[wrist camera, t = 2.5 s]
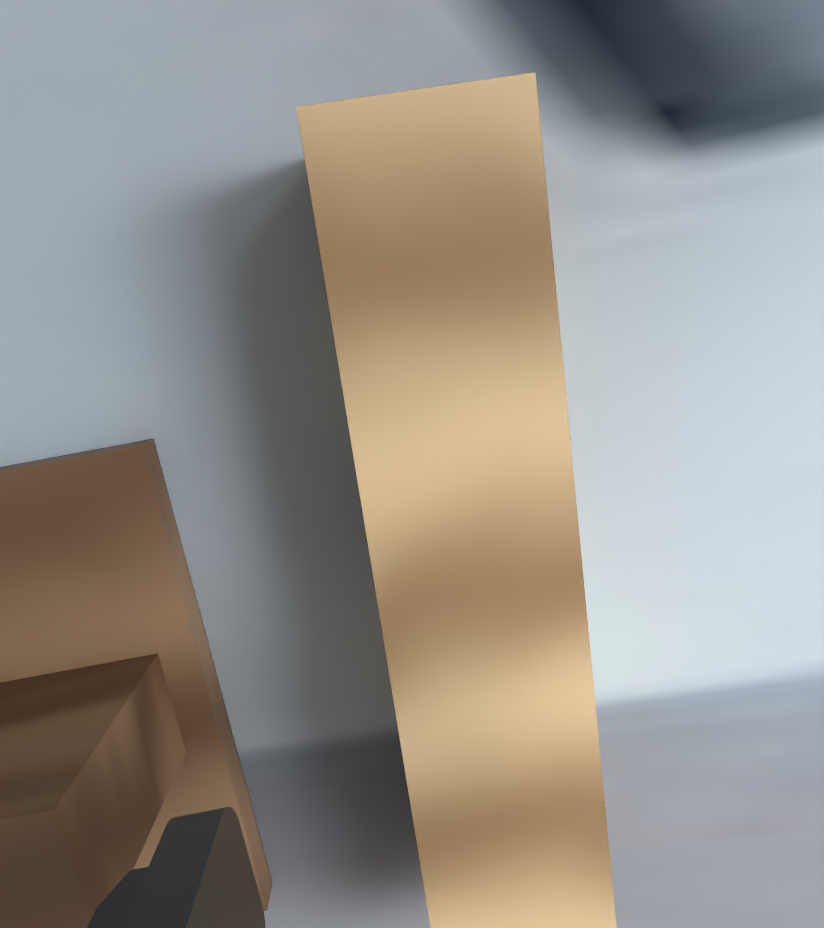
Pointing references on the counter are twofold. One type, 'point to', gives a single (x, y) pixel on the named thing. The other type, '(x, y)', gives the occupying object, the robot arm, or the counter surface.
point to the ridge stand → (101, 686)
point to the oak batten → (467, 489)
